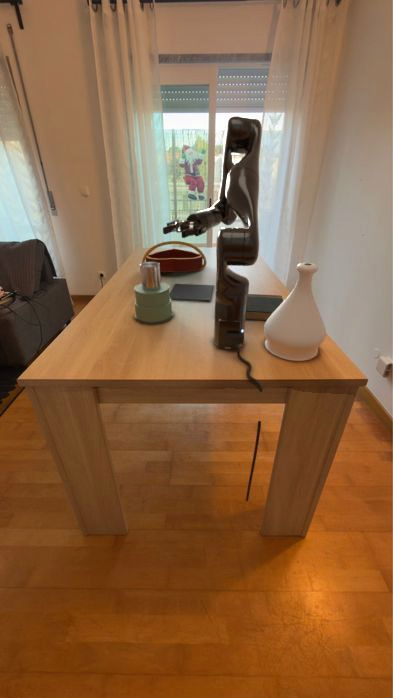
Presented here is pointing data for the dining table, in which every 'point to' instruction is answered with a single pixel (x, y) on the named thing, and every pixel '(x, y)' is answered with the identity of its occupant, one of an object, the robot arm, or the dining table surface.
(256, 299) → the book
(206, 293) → the slate mat
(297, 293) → the vase
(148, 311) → the green round container
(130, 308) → the dining table surface
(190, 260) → the decorative basket
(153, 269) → the steel cup
